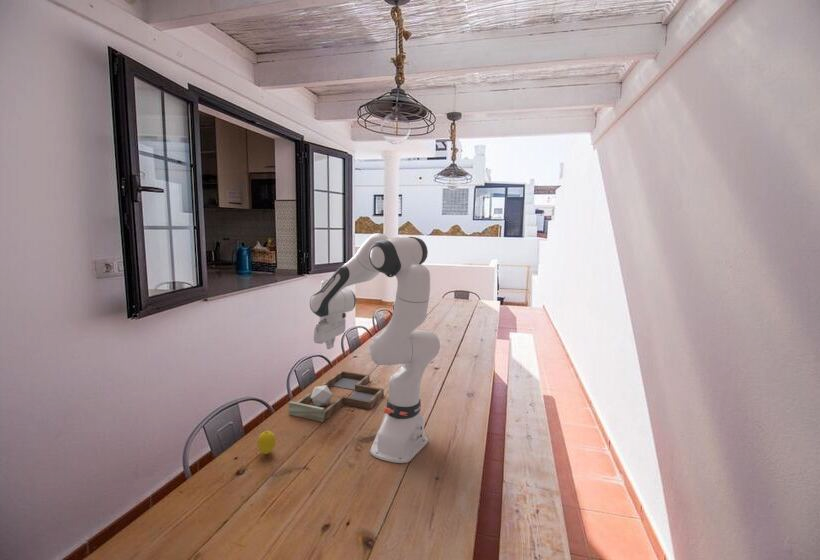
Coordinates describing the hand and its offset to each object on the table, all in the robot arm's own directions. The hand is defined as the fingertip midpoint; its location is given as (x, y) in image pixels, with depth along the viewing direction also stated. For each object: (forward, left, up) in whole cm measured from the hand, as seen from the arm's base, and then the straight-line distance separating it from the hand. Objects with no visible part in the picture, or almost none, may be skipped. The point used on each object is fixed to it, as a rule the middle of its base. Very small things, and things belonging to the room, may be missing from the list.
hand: (330, 348), depth 162 cm
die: (-6, +1, -23) cm, 24 cm away
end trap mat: (+17, 0, -23) cm, 29 cm away
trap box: (+3, -6, -23) cm, 24 cm away
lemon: (-43, -2, -23) cm, 49 cm away
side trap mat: (+5, -13, -23) cm, 27 cm away
